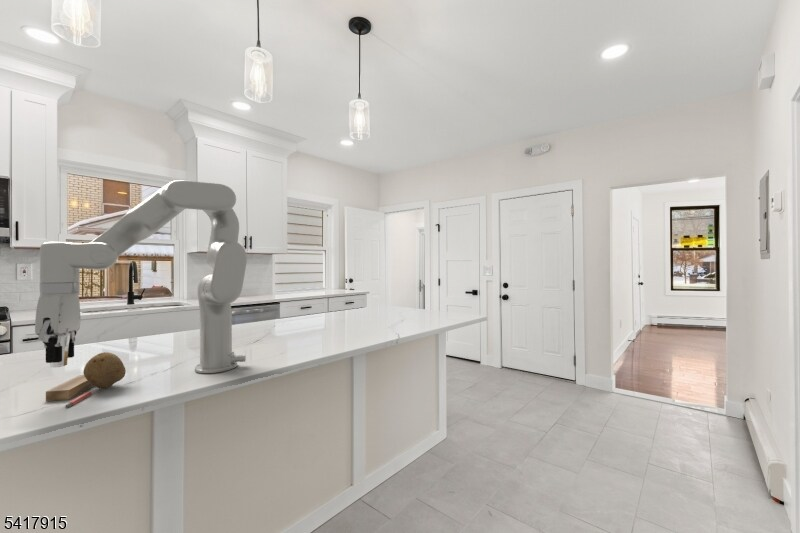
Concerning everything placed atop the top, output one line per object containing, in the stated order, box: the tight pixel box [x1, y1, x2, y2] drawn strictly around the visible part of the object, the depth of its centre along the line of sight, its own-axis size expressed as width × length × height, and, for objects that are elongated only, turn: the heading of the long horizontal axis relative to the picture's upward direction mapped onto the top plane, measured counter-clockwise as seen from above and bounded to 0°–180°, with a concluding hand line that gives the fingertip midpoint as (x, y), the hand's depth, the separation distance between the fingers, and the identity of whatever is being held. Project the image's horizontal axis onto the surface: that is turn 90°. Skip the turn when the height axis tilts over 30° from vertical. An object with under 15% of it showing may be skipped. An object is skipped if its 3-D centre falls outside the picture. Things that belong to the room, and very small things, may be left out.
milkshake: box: [49, 328, 70, 369], centre depth 94 cm, size 4×5×10 cm
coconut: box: [83, 351, 126, 390], centre depth 102 cm, size 9×9×10 cm
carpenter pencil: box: [64, 391, 92, 409], centre depth 92 cm, size 1×9×1 cm, turn 14°
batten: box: [45, 374, 95, 402], centre depth 100 cm, size 5×14×2 cm, turn 14°
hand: (60, 359), depth 94 cm, fingers closed on milkshake, 4 cm apart
